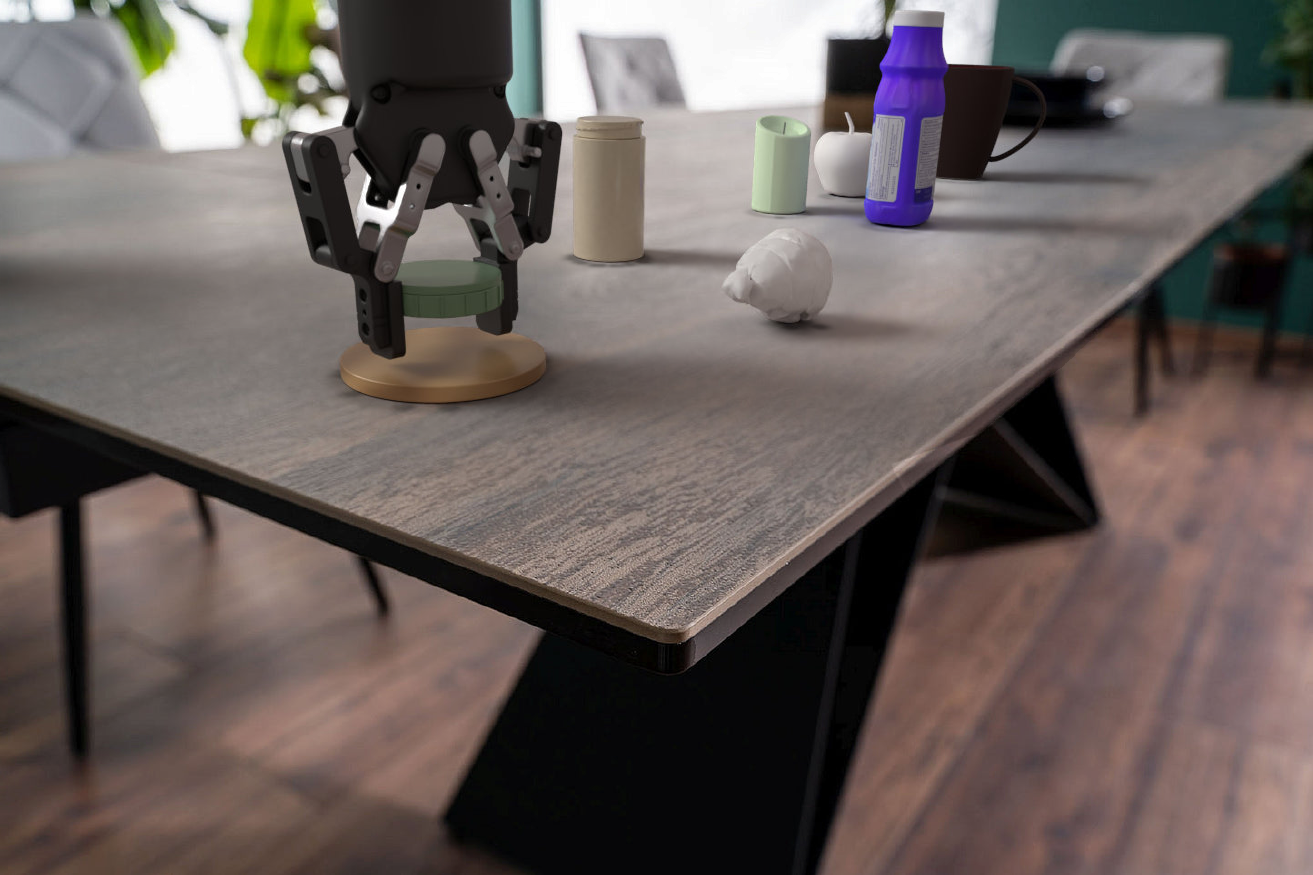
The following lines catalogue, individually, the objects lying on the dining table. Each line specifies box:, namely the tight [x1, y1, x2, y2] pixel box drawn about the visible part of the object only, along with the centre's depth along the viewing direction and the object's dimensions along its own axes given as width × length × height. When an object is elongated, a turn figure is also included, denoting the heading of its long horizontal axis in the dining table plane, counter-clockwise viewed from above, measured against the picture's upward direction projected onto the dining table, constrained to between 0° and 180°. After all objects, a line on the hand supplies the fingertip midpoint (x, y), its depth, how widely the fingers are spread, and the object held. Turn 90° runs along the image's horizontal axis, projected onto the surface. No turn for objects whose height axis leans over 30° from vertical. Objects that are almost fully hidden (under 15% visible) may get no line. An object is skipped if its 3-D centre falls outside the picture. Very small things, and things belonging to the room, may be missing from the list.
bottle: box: [863, 9, 949, 227], centre depth 92 cm, size 7×6×17 cm
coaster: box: [339, 326, 547, 404], centre depth 54 cm, size 10×10×1 cm
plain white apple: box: [813, 111, 872, 198], centre depth 108 cm, size 7×7×8 cm
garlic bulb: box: [722, 227, 834, 324], centre depth 62 cm, size 6×6×5 cm
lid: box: [395, 259, 504, 319], centre depth 52 cm, size 6×6×2 cm
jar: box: [572, 115, 647, 263], centre depth 78 cm, size 5×5×10 cm
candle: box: [750, 114, 812, 215], centre depth 98 cm, size 5×5×8 cm
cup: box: [936, 63, 1047, 181], centre depth 121 cm, size 10×14×12 cm
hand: (443, 341), depth 53 cm, fingers closed on lid, 5 cm apart
